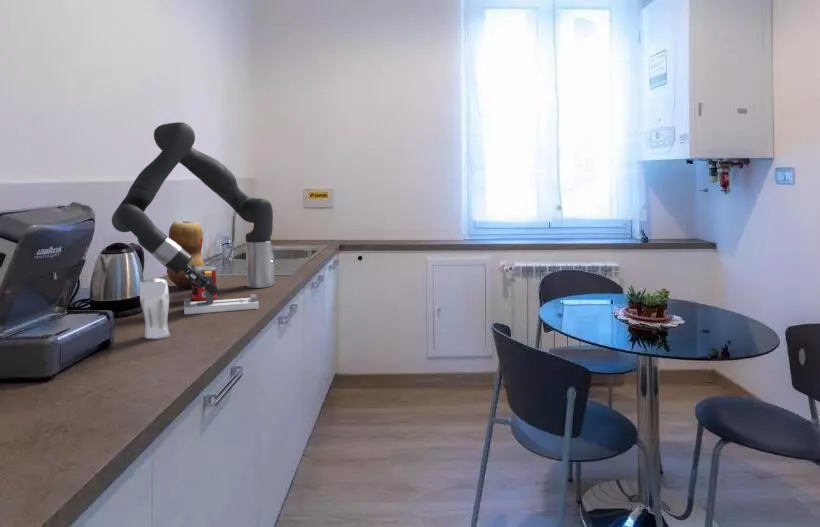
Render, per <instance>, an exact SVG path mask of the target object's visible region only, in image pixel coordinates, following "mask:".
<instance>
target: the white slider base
mask: <svg viewBox="0 0 820 527" xmlns="http://www.w3.org/2000/svg"><path fill="white" fill-rule="evenodd" d="M249 296H250V297H245V298H244V297H243V298H242V297H241V298H228V299H216V300H213V304H206V301H199V302H195V301H191V298H184V302H183V310H184V315H194V314H206V313H220V312H230V311H243V310H244V311H246V310H259V309H260V308H259V307H260V305H259V301H258V296H257V293H250V294H249Z"/></svg>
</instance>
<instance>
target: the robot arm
mask: <svg viewBox="0 0 820 527" xmlns="http://www.w3.org/2000/svg"><path fill="white" fill-rule="evenodd" d="M195 135H196V134H195V131H194V130H193V128H192V127H191V125H189V124H188V123H186V122H169V123H164V124H160V125H158V126H157V127H156V128H155V129H154V131H153V139H154V142H155V144H156V146H157V147H158V148H159V149H160V150H161V151H160V153H159V154H158V155H157V157H155V158H154V159H153V160H152V161H151V162H150V163H149V164H148V165H147V166H146V167H145V168H143V169H142V170H141V171H140V173H139V174H138V175H137V177H136V178H135V180H134V181H133V183H132V184H131V186H130V187H129V189H128V192H127V194H126V196H125V197H124V199H123V200H122V201H121V203H120V204H119V206H118V207H117V208H116V209H115V211H114V212H113V214H112V215H111V216H112V217H111V224H112V227H113V228H114V229H115V230H116V231H118V232H121V233H128V232H131V233H132V234H133V235H134V236H135V237H136V238H137V242H138V244H139V245H140V246H141V247H142V248H143V249H144V250H146V251H147V252H148V253H150V254H151V255H152V256H153V258H155V260H157V262H159V263H160V264H161V265H163V266H164V267H165V268H166V269H167V268H168V269H169V270H170V271H171V272H173V273H174V274H178V273H179V272H180V271H184V272H185V276H186V277H187V278H188V279H191V280H192V281H193V282H194V283H195V284H197V285H199V286H200V287H201V288H204V289H206V290H207V291H208V292H209V293H211V294H212V295H213V296H214V295H215V294H216V293H217V294H218V292H219V290H218V286H217V287H216V286H215V285H214V284H213V283H212V285H211V284H210V283H209V281H207V280H206V279H205V275H204V274H203V272H201V271H200V270H199V269H198V268H197V267H196V266H195V265H190V264H189V262H190V260H191V259H192V255H190V254H189V253H188V252H187V251H186V250H184V249H183V248H182V247H181V246H180V245H178V244H177V243H176V242H175V241H173V240H172V239H170V238H169V235H167V234H166V233H164V232H163V231H162V230H161V229H159V228H158V227H157V226H156V225H155V223H154V222H153V221H152V219H151V218H149V216H148V215H147V214H146V213H145V211H146V209H147V208H148V207H149V206H150V205H151V203H152V201H154V199H155V197H156V195H157V193H158V192H159V191H160V190H161V189H160V188H161V187H162V185H163V184H164V182H165V181H166V179H167V178H168V177H169V176H170V174H172V172H173V170H174V169H175V168H176V166H177V165H178V164H181V165H182V166H183V167H184V168H186V169H187V170H188V171H190V173H191V174H193V175H194V176H195V177H196V178H197V179H199V180H200V182H202V183H203V184H204V185H205V186H207V187H208V188H209V189H210V190H211V191H212V192H214V193H215V194H216V195H217V196H218V197H220V198H221V199H222V200H223V201H225V203H227V204H228V205H229V206H230V207H231V208H232V209H233V210H234V212H236V214H237V215H238V216H239V217H240V218H241V219H242V220H243V221H245V222H247V223H252V224H253V227H252V228H253V229H252V230H251V231H250V232H249V231H248V233H246V234H245V254H246V255H245V256H246V257H245V258H246V280H247V281H246V285H247V287H248V288H252V289H259V288H260V289H261V288H262V289H263V288H269V287H272V286H275V265H274V263H275V262H274V260H272V242H271V241H272V236H273V230H274V229H273V227H274V225H273V224H274V223H273V222H274V220H273V219H274V214H273V213H274V212H273V206H272V203H271V202H270V201H269V200H268V199H266V198H258V197H257V198H253V197H250V196H249V195H247V194H246V193H244V192H243V191H242V190H241V189H240V188H239V186H238V182H237V179H236V177H235V175H234V174H233V172H232V171H231V170H229V168H228V167H226V166H225V164H223V163H222V162H220V161H219V160H217V159H216V158H214V157H211V156H209V155H208V154H205V153H203V152H201V151H199V150H197V149H196V148H194V145H195V141H196V136H195Z"/></svg>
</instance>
